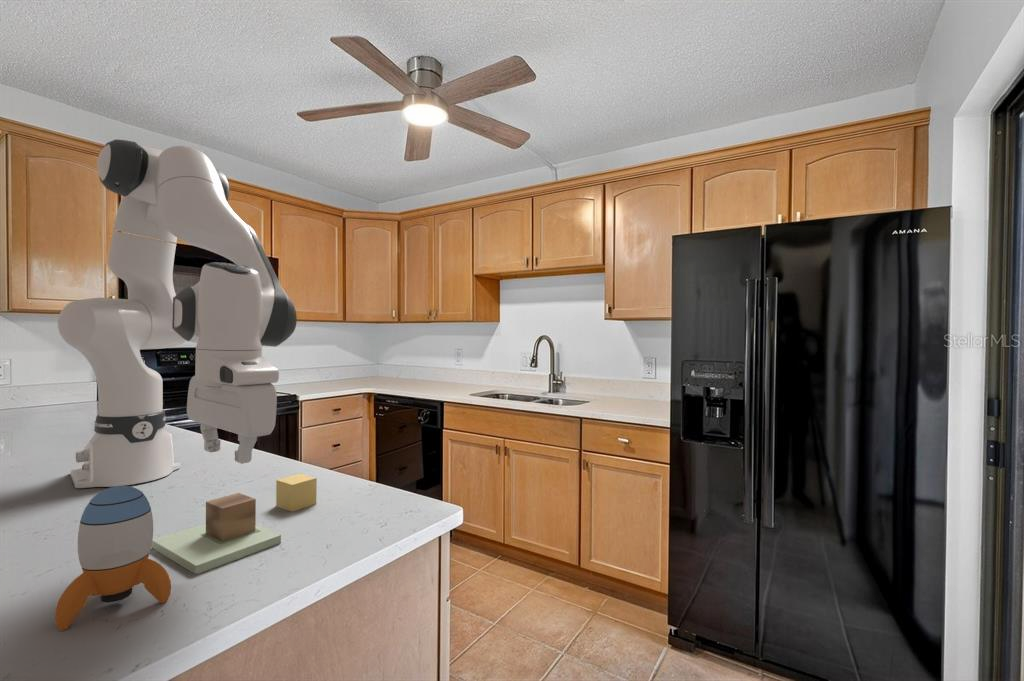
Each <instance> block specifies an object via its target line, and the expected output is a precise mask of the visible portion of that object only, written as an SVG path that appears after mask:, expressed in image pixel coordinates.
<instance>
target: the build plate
mask: <svg viewBox="0 0 1024 681" xmlns="http://www.w3.org/2000/svg"><path fill="white" fill-rule="evenodd" d="M281 543H282V535H281V534H280V533H278V532H275V531H272V530H271V529H270V530H269V529H268V528H265V527H263V526H260V525H259V524H255V531H253V532H250V533H247V534H244V535H241V536H238V537H235V538H232V539H229V540H226V541H223V542H221V541H219V540H217V539H215V538H213V537H211V536H209V535H207V534H206V523H203V524H199V525H197V526H194V527H189V528H186V529H183V530H180V531H176V532H174V533H170V534H167V535H163V536H159V537H156V538H153V540H152V546H151V549H152V550H154V551H156V552H158V553H159V554H161V555H162V556H164V557H166V558H168V559H169V560H171V561H173V562H174V563H175V564H178V565H179V566H181V567H183V568H184V569H186V570H188V571H189V572H191V573H192V574H194V575H199V574H202V573H204V572H207V571H210V570H212V569H215V568H218V567H221V566H223V565H225V564H229V563H230V562H233V561H237V560H239V559H241V558H244V557H247V556H250V555H252V554H254V553H258V552H260V551H263V550H265V549H268V548H270V547H273V546H277V545H278V544H281Z"/></svg>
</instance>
